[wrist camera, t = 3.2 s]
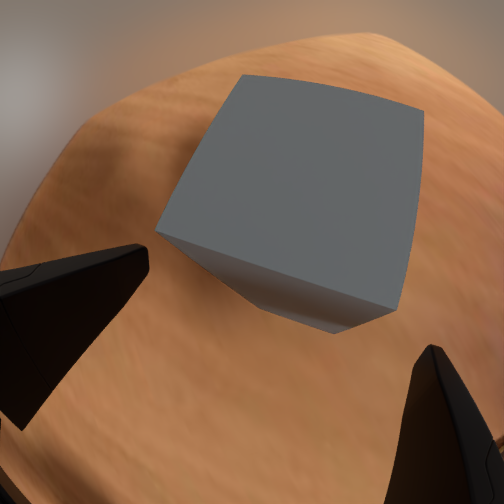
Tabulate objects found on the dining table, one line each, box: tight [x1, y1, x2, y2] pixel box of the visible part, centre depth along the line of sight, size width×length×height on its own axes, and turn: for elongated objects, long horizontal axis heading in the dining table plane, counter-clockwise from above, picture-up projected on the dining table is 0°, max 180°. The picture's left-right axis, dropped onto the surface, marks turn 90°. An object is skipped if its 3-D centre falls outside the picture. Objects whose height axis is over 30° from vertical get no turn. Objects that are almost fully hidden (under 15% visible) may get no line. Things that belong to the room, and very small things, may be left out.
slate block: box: [155, 75, 424, 334], centre depth 12 cm, size 5×5×13 cm
